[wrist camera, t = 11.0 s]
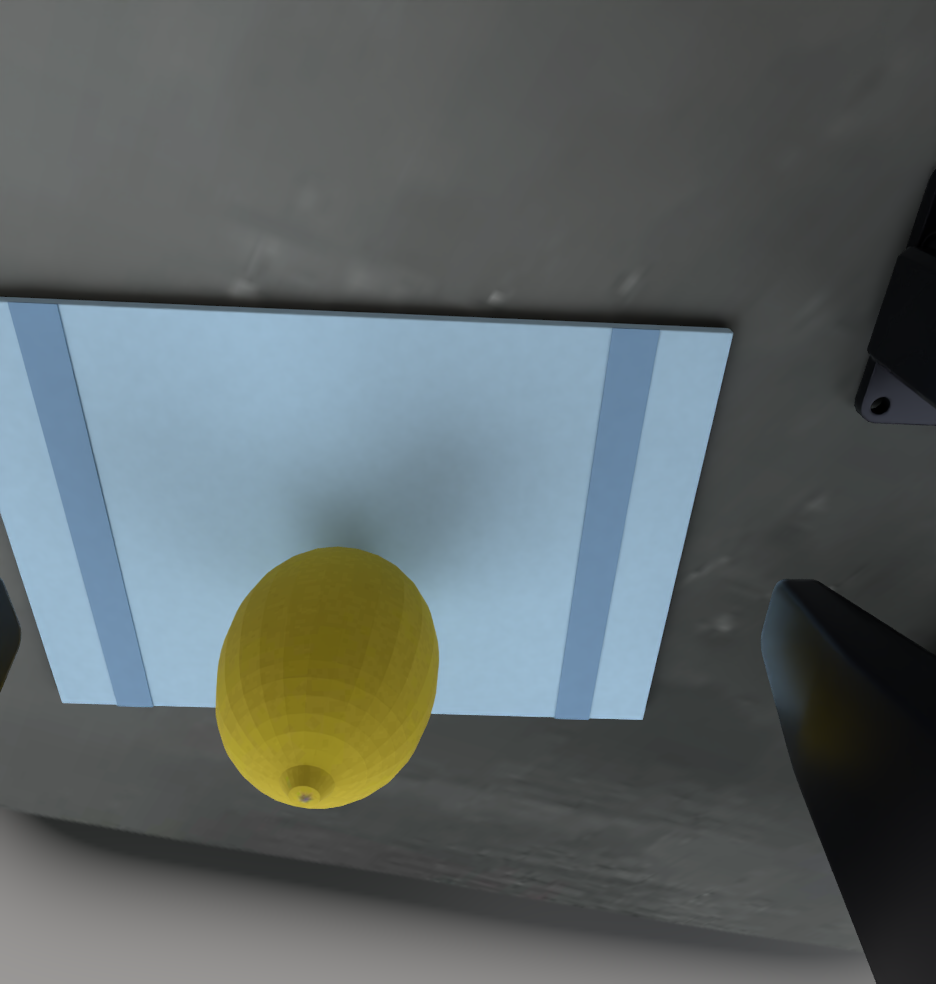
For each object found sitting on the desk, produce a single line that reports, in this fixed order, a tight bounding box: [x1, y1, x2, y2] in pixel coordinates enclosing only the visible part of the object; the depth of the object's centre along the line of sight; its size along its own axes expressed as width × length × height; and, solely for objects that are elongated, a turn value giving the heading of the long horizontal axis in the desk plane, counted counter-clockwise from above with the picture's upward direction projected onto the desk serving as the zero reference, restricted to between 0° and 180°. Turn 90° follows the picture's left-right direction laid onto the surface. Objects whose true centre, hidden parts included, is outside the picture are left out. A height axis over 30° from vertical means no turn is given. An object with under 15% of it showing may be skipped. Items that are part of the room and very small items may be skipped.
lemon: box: [216, 546, 439, 809], centre depth 19 cm, size 6×6×8 cm
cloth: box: [0, 297, 733, 720], centre depth 23 cm, size 20×14×1 cm
